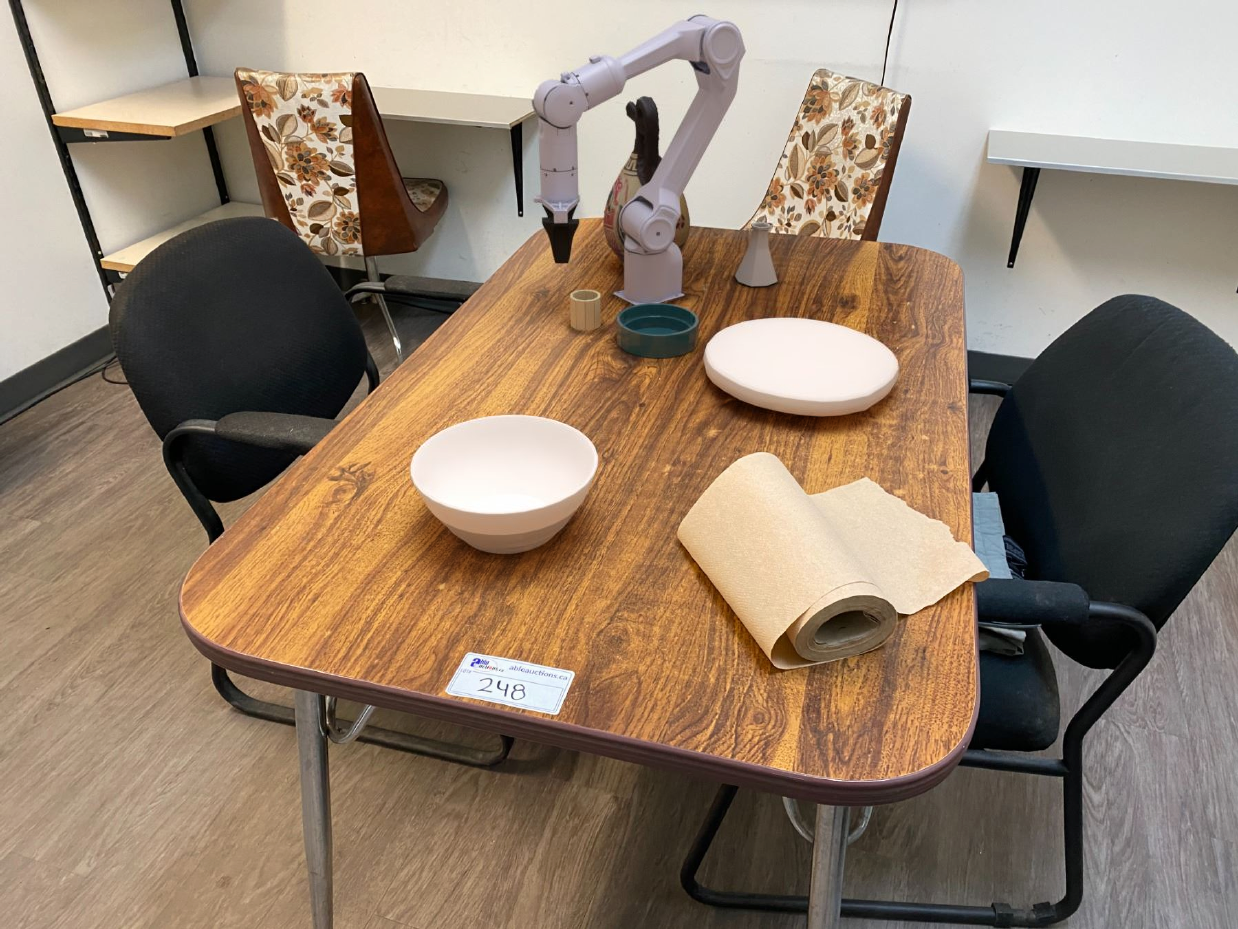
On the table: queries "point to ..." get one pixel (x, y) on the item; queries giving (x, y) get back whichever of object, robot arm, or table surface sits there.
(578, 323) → the cup
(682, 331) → the teal bowl
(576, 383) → the table surface
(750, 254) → the flask
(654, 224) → the robot arm
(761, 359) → the plate
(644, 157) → the ceramic jug
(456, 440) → the bowl
